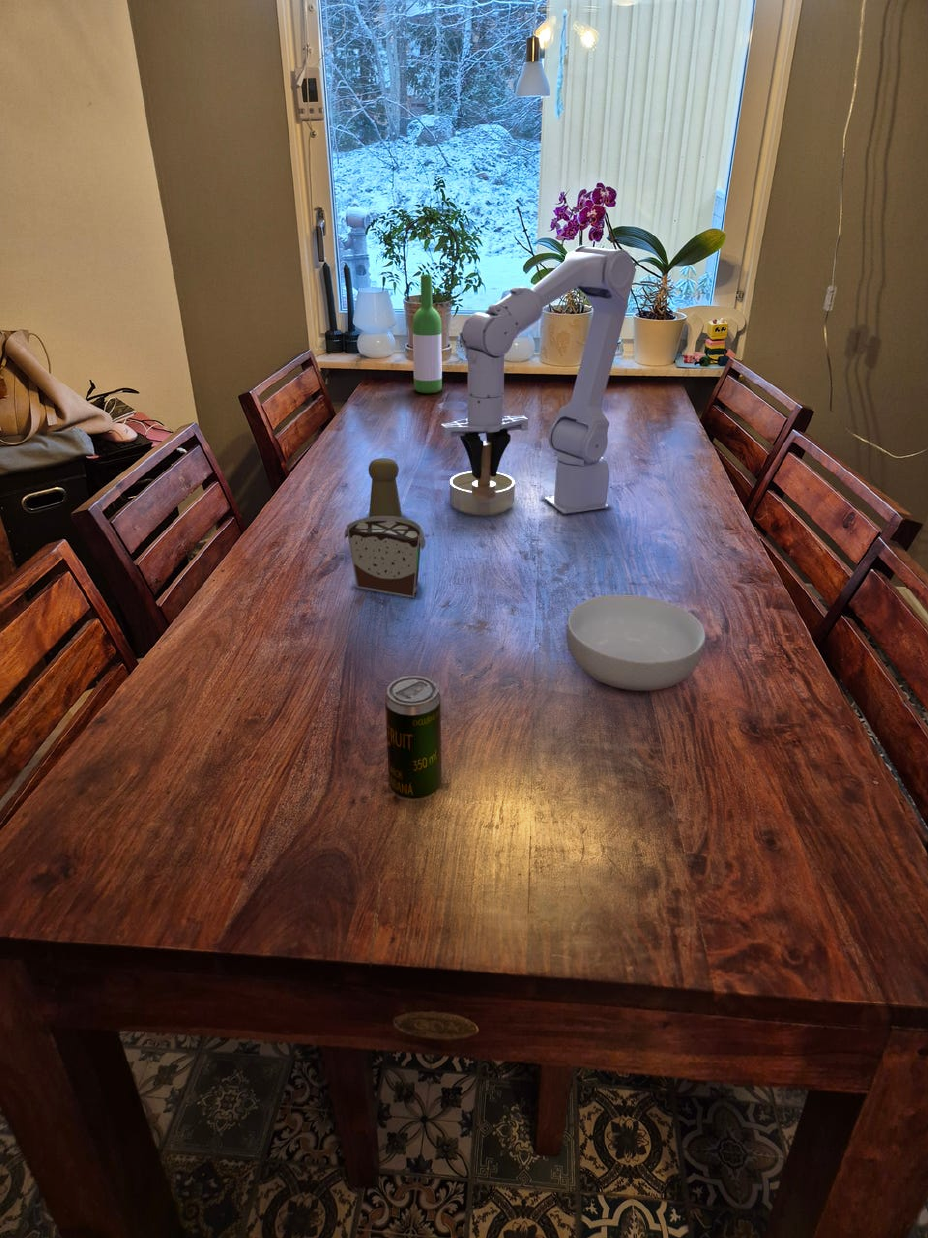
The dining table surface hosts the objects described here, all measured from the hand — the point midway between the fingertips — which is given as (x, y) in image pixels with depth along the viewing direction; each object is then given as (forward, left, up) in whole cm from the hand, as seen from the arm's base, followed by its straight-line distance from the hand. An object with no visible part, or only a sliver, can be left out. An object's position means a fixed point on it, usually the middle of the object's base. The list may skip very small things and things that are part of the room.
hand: (483, 475), depth 136 cm
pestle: (0, 0, -3) cm, 3 cm away
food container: (+20, +14, -10) cm, 26 cm away
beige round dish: (-5, -12, -10) cm, 17 cm away
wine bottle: (-23, -97, -10) cm, 101 cm away
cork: (+14, -11, -10) cm, 21 cm away
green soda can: (+31, +59, -10) cm, 67 cm away
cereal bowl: (-1, +48, -10) cm, 49 cm away
